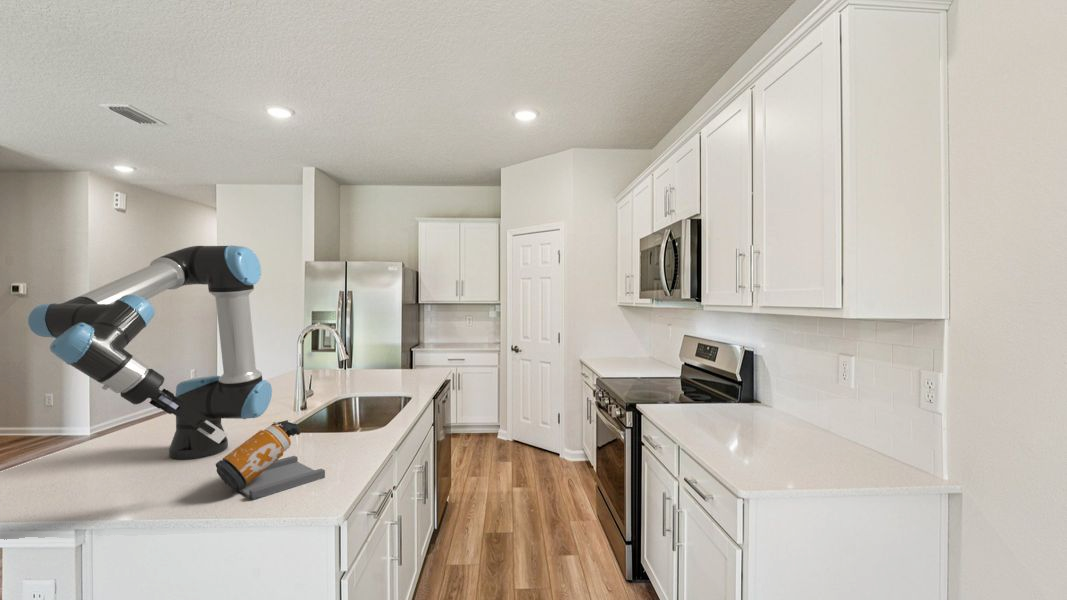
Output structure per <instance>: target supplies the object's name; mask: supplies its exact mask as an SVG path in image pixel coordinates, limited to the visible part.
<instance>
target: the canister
mask: <svg viewBox="0 0 1067 600" xmlns="http://www.w3.org/2000/svg"><path fill="white" fill-rule="evenodd" d="M301 431H302V429H301V428H300V427H299V425H298V423H292V422H290V421H289V420H288V419H287V420H282V421H279V422H275V421H274V422H273V423H271V425H269V426H268V427H266V428H265V429H264V430H263V429H262V430H259V431H258V432H256V433H255V434H254V435H252V436H250V438H248V439H247V440H245V441H244V442H243V443H242V444H240V445H239V446H237V447H236V448H234V449H233V450H232V451H231V452H229V453H228V454H227V455H225V456H224V457H222V460H221V459H219V461H217V462H216V463H215V467H216V474H217V475H218V476H219V478H220V479H221V480H222V481H223V482H224V483H225V485H227V486H228V487H230V488H231V489H235V490H237V491H239V490H241V489H243V488H244V487H245V485H247V484H249V483H250V482H251V481H252V480H254V479H255V478H256V477H257V476H258V475H260V474H261V473H262V472H263V471H265V470H266V469H267V468H268V467H269V466H271V465H272V464H273V463H274V462H276V461H277V460H280V459H281V458H282V457H283V456H284V453H285V452H286V451H287V450H288V449H290V446H291V444H292V442H291V438H290V437H291V436H292V437H294V436H295V435H296V436H299V435H301Z"/></svg>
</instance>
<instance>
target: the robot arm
mask: <svg viewBox="0 0 1067 600" xmlns="http://www.w3.org/2000/svg"><path fill="white" fill-rule="evenodd" d="M261 275H262V267H261V263H260V260H259V258H258V256H257V254H256V253H255V252H254V251H253V250H252V249H250V248H249V247H246V246H243V245H242V246H241V245H194V246H193V245H192V246H188V247H184V248H181V249H178V250H174V251H172V252H169V253H166V254H164V255H162V256H158V257H157V258H155V259H153V260H152V261H151V262H150V263H149V265H148V266H146V267H143V268H141V269H139V270H137V271H134V272H132V273H130V274H128V275H125V276H123V277H120V278H118V279H116V280H114V281H111V282H108V283H107V284H104V285H102V286H100V287H97V288H94V289H93V290H91V291H88V292H85V293H83V294H81V295H79V296H75V297H74V298H72V299H69V300H67V301H64V302H62V303H56V302H55V303H54V302H50V303H45V304H39V305H38V306H36V307H34V308H33V309H32V310H31V311H30V313H29V315H28V317H27V318H28V319H27V324H28V326H29V329H30V330H31V332H32V333H33V334H35V335H36V336H39V337H42V338H53V339H54V340H53V341H52V342H51V344H50V345H49V350H50V352H51V353H53V354H54V355H55V356H56V357H57V358H59V359H60V360H61V361H63V362H64V363H65V364H66V365H69V366H72V367H73V368H74V369H76V370H78V371H79V372H81V373H83V374H84V375H86V376H88V377H89V378H91V379H93V380H95V381H96V382H98V383H99V384H101V385H103V386H102V387H101V389H102V390H104V391H107V390H108V389H109V390H111V391H112V392H114V393H116V394H120V397H121V398H122V399H125V400H126V401H128V402H129V403H131V404H133V405H140V404H141V403H144V402H145V401H146V400H148V399H150V401H149V404H150V405H152V406H153V407H156V408H157V409H159V410H162V411H163V412H166V413H167V414H169V415H174V416H175V425H176V426H175V432H174V435H173V437H172V440H171V443H170V446H169V449H168V456H169V458H171V459H175V460H191V459H192V460H193V459H198V458H204V457H208V456H212V455H216V454H219V453H221V452H223V451H225V450H227V449H228V447H229V440H228V439H229V438H228V437H227V435H228V433H227V432H225V430H224V427H223V425H222V419H225V420H226V419H229V420H230V419H233V420H234V419H237V420H240V419H241V420H247V419H256V418H260V417H261V416H262V415H264V413H265V412H266V411H267V409H268V407H269V406H270V404H271V400H272V397H273V396H272V395H273V394H272V393H273V389H272V385H271V383H270V382H269V381H268V380H263V373H262V372H261V371H260V370H259V369H257V364H256V357H255V356H256V355H255V346H254V335H253V325H252V324H253V323H252V316H251V305H250V294H251V293H252V292H253V291H254V289H255V286H254V285H256V284H258V282H259V281H260V279H261ZM190 285H206V286H207V287H208V293H209V294H210V295H212V296H213V297H215V305H216V314H217V315H216V316H217V323H218V324H217V325H218V330H219V331H218V332H219V341H220V342H219V343H220V351H221V360H222V361H221V362H222V368H223V373H222V375H209V376H203V377H197V378H191V379H188V380H183V381H181V382H179V383H178V384H177V385H176V387H175V395H174V393H172V392H171V391H170V390H168V389H166V388H162V389H161V390H160V388H161V386H162V385H163V384H164V382H165V377H164V376H163V375H161V373H159V372H158V371H156V370H154V369H153V368H149V365H148V364H146V363H145V362H143V361H142V360H140V359H138V358H137V357H136V356H134V355H133V354H131V353H130V352H128V351H127V350H126V349H125V348H126V347H127V346H128V344H130V343H131V341H133V339H135V338H136V336H138V334H139V333H141V331H142V330H143V329H145V328H146V327H147V326H148V324H149V323H150V322H151V320H152V319H153V318H154V316H155V313H156V312H155V308H154V307H153V305H152V303H151V302H150V301H148V300H149V299H151V298H153V297H155V296H158V295H159V294H161V293H163V292H165V291H168V290H176V289H178V288H181V287H183V286H190Z"/></svg>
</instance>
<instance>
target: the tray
mask: <svg viewBox="0 0 1067 600" xmlns="http://www.w3.org/2000/svg"><path fill="white" fill-rule="evenodd" d="M325 478H326V471H325V469H323V468H319V469H314V468H311V467H308V466H307V465H305V464H303V463H301V462H299V461H298V456H296V455H291V456H288V457H284V458H279V459H278V460H277V461H276V462H274V463H273V464H272V465H271V466H269V467H268V468H267V469H266V470H265V471H263V472H262V473H261V474H260V475H258V476H257V477H256V478H255V479H254V480H252V481H251V482H250V483H249V484H247V485H245V487H244V488H243V489H241V490H238V491H239V492H240V491H241V492H242V493H241V492H240V493H241V494H243V495H244V494H245V495H244V496H246V497H247V496H248V497H247V498H249V499H250V500H252V501H255V500H258V499H261V498H265V497H267V496H270V495H274V494H277V493H281V492H283V491H287V490H290V489H292V488H296V487H298V486H302V485H305V484H308V483H311V482H315V481H318V480H322V479H325Z"/></svg>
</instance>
